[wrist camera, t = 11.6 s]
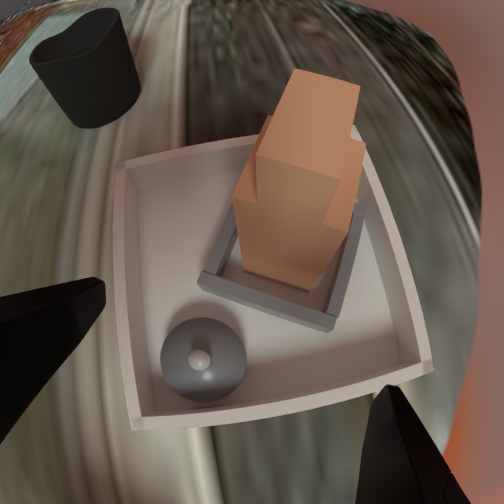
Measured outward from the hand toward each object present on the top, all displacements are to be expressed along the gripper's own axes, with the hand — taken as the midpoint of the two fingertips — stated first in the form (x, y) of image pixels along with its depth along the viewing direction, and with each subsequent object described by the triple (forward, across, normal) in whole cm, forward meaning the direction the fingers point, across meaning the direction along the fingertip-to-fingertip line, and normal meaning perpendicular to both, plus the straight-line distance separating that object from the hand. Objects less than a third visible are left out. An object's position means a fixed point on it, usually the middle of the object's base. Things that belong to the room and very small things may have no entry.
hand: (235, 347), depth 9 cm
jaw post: (+13, 0, +3) cm, 14 cm away
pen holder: (+22, +24, -4) cm, 32 cm away
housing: (+13, +1, +5) cm, 14 cm away
